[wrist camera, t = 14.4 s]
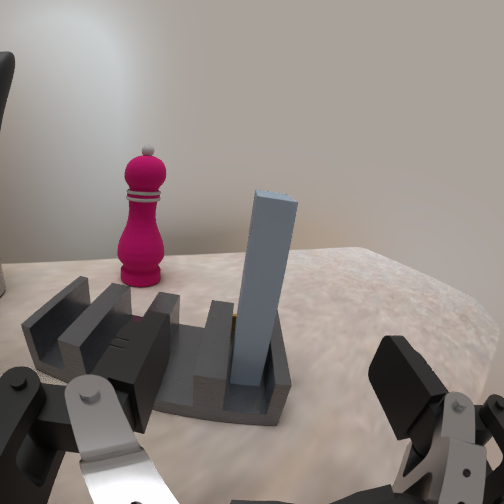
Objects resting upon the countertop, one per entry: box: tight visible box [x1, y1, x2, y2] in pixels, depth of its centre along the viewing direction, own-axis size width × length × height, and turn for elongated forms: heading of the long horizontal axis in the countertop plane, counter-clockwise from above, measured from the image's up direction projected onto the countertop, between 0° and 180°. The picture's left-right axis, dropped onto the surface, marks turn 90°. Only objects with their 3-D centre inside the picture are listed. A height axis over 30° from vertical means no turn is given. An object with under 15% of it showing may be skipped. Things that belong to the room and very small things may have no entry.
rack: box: [21, 276, 291, 426], centre depth 22 cm, size 22×11×5 cm, turn 90°
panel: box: [229, 190, 298, 386], centre depth 21 cm, size 2×5×15 cm, turn 0°
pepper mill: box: [118, 145, 166, 287], centre depth 37 cm, size 7×7×20 cm
